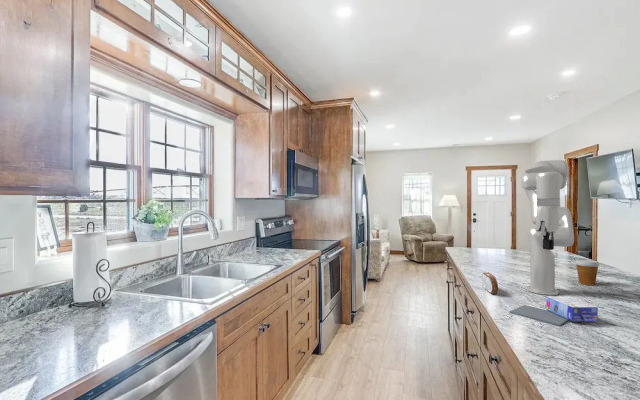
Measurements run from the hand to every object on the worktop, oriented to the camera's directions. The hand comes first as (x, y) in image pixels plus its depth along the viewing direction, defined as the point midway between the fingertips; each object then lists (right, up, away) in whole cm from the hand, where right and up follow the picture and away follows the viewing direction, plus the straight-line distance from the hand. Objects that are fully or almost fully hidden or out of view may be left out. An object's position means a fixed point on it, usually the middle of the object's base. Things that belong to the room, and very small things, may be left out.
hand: (548, 249), depth 122 cm
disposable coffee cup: (+49, -25, +39) cm, 67 cm away
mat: (-7, -24, -5) cm, 26 cm away
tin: (-9, -25, +26) cm, 37 cm away
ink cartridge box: (+3, -21, -1) cm, 21 cm away
